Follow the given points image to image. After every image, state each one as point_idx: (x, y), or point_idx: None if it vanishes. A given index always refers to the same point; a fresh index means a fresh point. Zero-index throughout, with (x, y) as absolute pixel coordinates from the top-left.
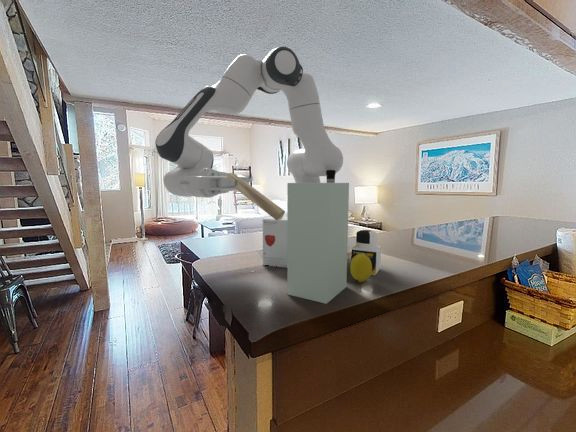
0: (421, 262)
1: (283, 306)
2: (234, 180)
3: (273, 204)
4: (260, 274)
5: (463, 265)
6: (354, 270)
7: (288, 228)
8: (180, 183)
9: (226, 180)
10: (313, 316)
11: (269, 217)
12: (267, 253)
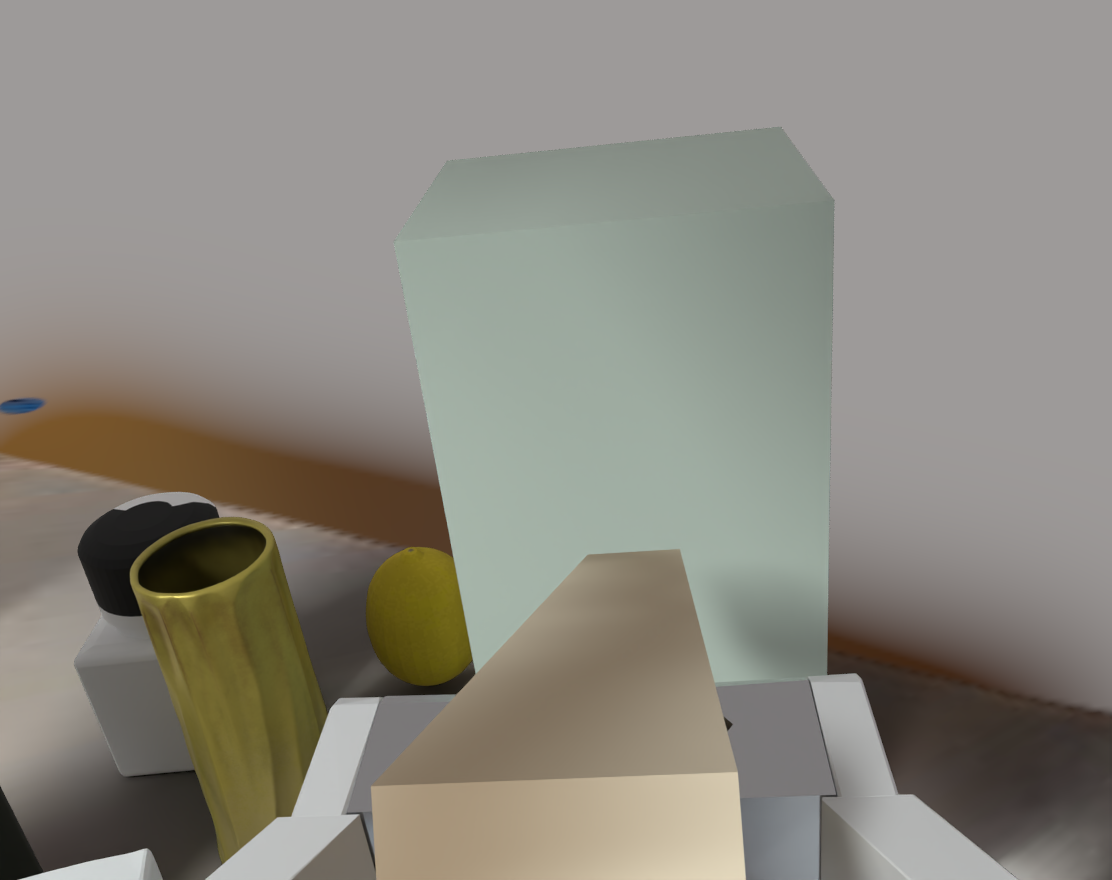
0: (6, 588)
1: (963, 809)
2: (811, 678)
3: (620, 563)
4: None
5: (49, 495)
6: None
7: (828, 520)
8: None
9: (962, 850)
10: (931, 681)
11: None
12: None
